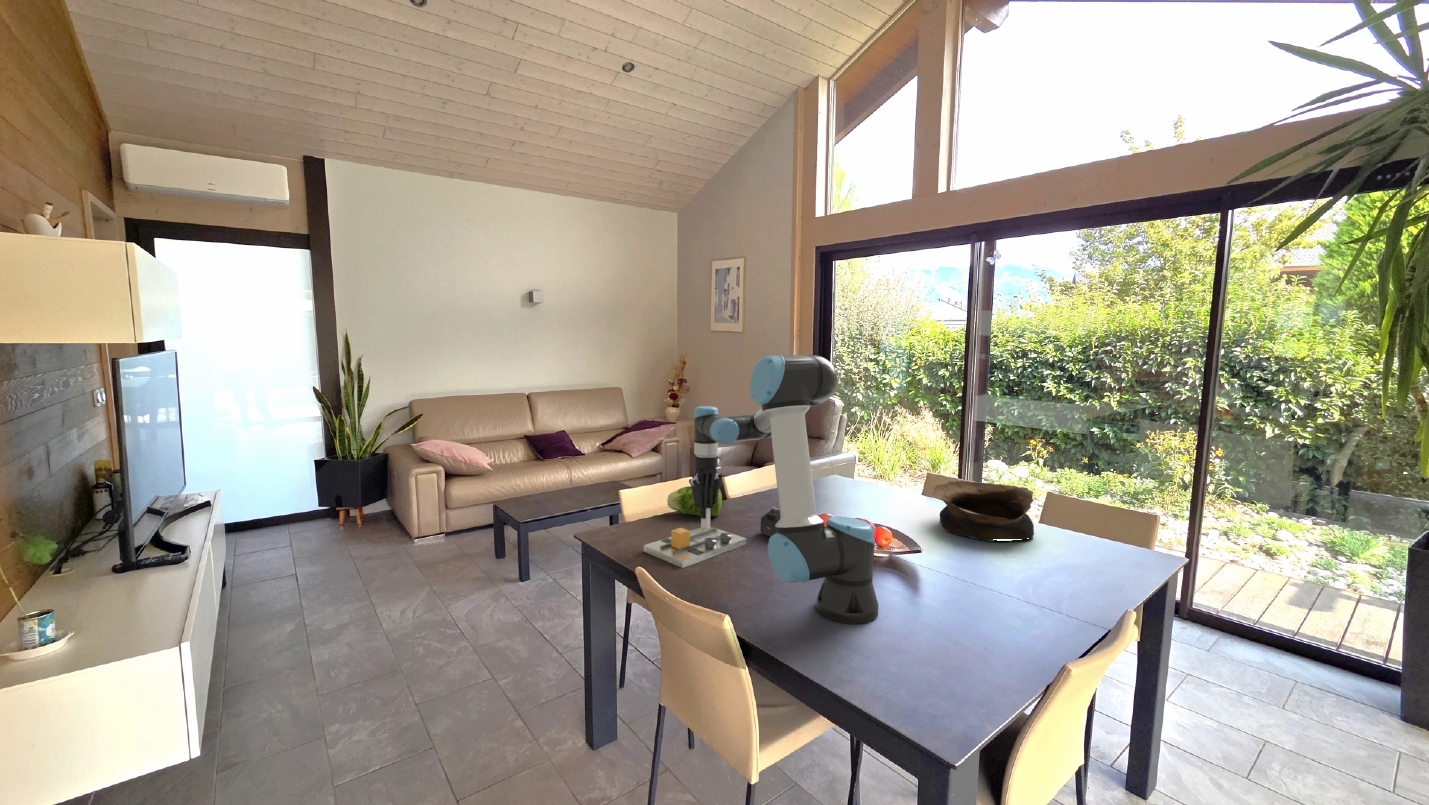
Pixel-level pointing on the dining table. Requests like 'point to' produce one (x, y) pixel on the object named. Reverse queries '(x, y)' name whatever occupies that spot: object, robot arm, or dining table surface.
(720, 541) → the console
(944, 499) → the bowl
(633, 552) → the dining table surface
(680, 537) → the fader
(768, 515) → the camera
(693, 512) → the lettuce
